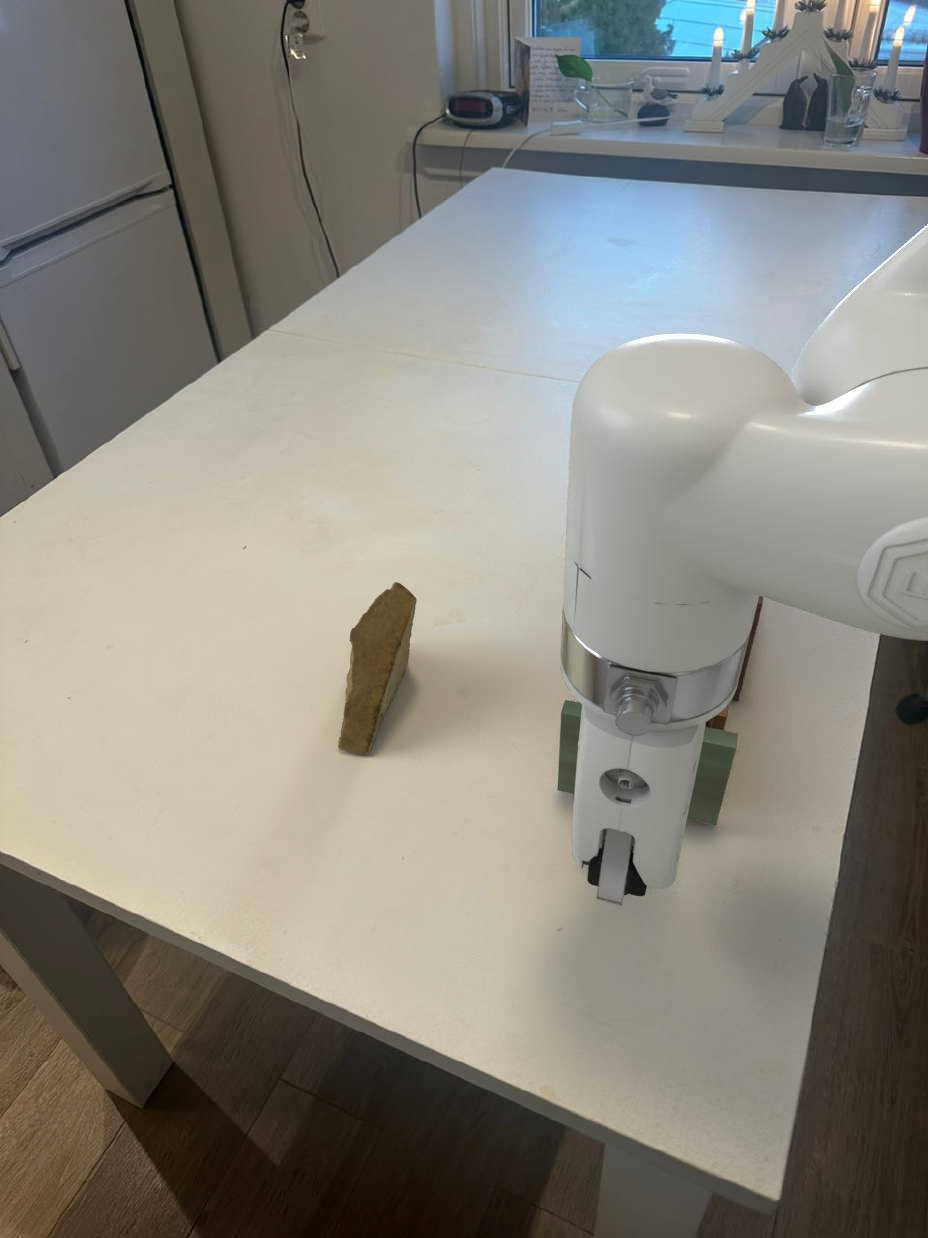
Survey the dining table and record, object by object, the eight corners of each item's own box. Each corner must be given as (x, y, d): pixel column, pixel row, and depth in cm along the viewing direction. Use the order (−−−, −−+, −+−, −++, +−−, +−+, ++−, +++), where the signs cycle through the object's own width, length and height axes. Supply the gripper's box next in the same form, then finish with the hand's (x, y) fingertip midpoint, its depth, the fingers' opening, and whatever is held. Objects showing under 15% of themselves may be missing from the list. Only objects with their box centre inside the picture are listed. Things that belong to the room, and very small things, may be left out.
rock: (382, 766, 59) (473, 668, 63) (303, 671, 56) (403, 576, 61) (318, 758, 68) (402, 672, 72) (247, 675, 65) (338, 592, 70)
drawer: (709, 883, 53) (730, 806, 48) (542, 843, 56) (544, 766, 50) (734, 670, 66) (753, 591, 61) (598, 645, 69) (605, 568, 63)
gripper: (729, 803, 30) (668, 1028, 43) (755, 548, 41) (700, 788, 53) (519, 758, 32) (519, 987, 44) (595, 525, 43) (578, 762, 55)
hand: (618, 878), depth 49 cm, fingers closed
